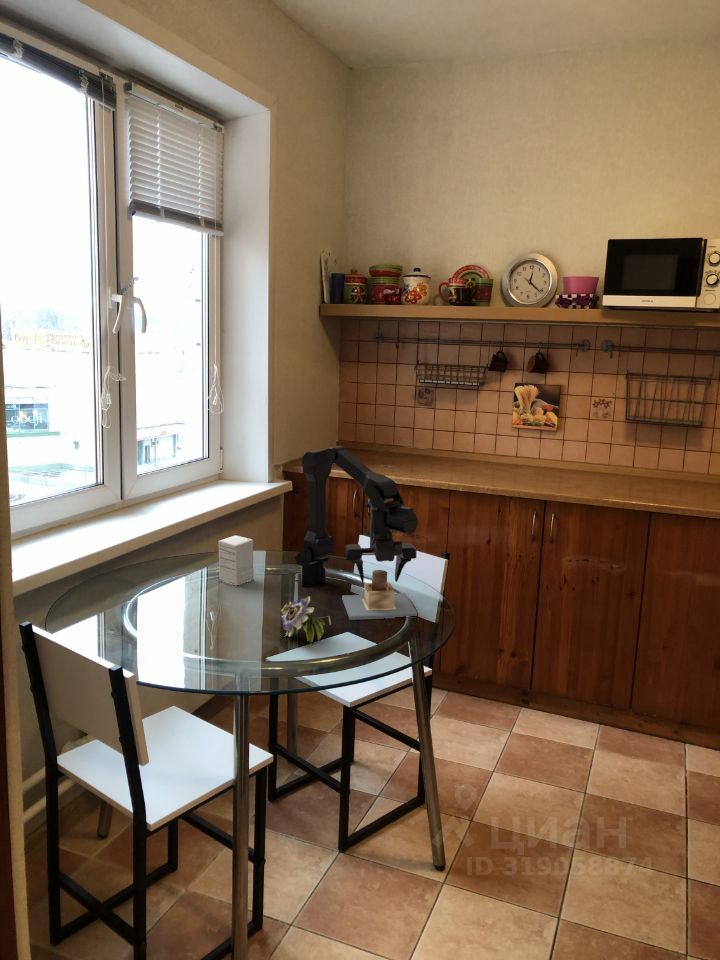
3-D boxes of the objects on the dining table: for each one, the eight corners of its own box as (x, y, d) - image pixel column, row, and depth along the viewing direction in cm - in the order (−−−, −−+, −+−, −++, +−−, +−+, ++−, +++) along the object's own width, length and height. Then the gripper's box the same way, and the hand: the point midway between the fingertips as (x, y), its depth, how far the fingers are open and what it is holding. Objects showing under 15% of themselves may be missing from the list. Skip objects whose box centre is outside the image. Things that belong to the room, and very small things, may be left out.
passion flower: (288, 657, 192) (269, 612, 195) (326, 640, 197) (307, 597, 200) (301, 648, 183) (281, 601, 185) (340, 631, 188) (320, 586, 190)
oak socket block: (368, 609, 207) (368, 592, 206) (364, 599, 213) (364, 583, 212) (394, 608, 208) (394, 591, 207) (389, 598, 215) (389, 582, 213)
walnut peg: (373, 592, 207) (373, 574, 206) (370, 587, 211) (371, 570, 210) (387, 592, 208) (388, 574, 207) (385, 587, 212) (385, 569, 211)
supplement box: (236, 574, 234) (235, 534, 231) (254, 580, 230) (254, 539, 227) (218, 581, 228) (217, 540, 225) (236, 587, 224) (236, 545, 221)
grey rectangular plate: (349, 619, 202) (350, 615, 202) (342, 598, 217) (342, 595, 216) (417, 617, 205) (417, 613, 205) (405, 596, 219) (405, 592, 219)
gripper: (350, 535, 197) (349, 593, 200) (422, 534, 200) (420, 591, 203) (344, 523, 207) (343, 579, 211) (412, 522, 210) (410, 576, 214)
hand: (379, 581), depth 209 cm, fingers open, 9 cm apart
